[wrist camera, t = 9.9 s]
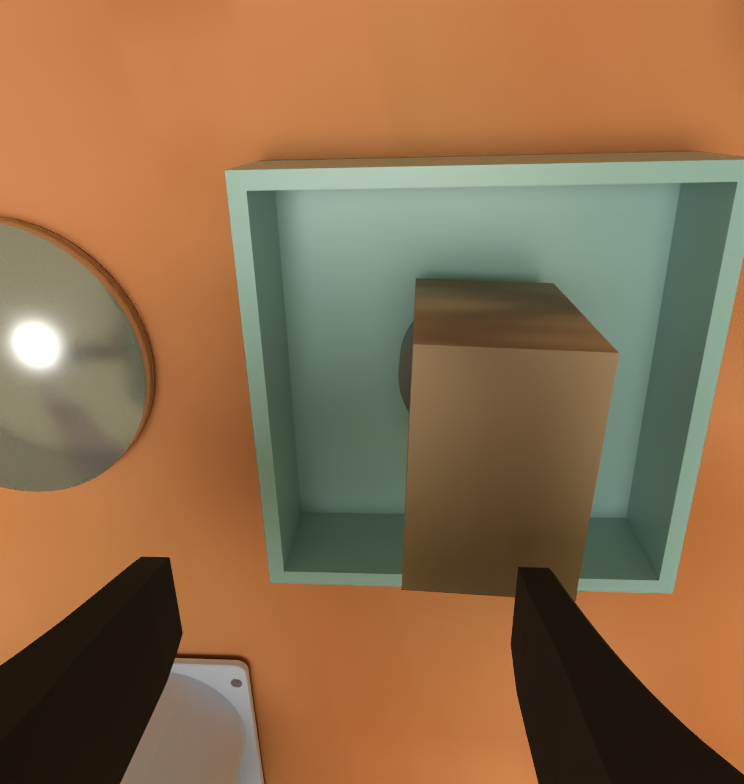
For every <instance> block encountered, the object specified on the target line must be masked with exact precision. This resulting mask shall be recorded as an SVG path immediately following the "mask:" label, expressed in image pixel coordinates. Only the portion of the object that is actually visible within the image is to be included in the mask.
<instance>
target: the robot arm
mask: <svg viewBox="0 0 744 784" xmlns="http://www.w3.org/2000/svg"><path fill="white" fill-rule="evenodd" d="M182 634H183V632H182V626H181V621H180V615H179V609H178V604H177V598H176V592H175V586H174V581H173V575H172V569H171V563H170V558H169V557H140V558H139V559H138V560H136V561H135V562H134V563H132V564H131V565H130V566H129V567H127V568H126V569H125V570H124V571H122V572H121V573H120V574H119V575H118V576H116V577H115V578H114V579H113V580H112V581H110V582H109V583H108V584H107V585H105V586H104V587H103V588H102V589H101V590H99V591H98V592H97V593H96V594H95V595H93V596H92V597H91V598H90V599H88V600H87V601H86V602H85V603H83V604H82V605H81V606H80V607H78V608H77V609H76V610H75V611H73V612H72V613H71V614H70V615H68V616H67V617H66V618H65V619H63V620H62V621H61V622H60V623H58V624H57V625H56V626H54V627H53V628H52V629H50V630H49V631H48V632H46V633H45V634H43V635H42V636H41V637H39V638H38V639H37V640H35V641H34V642H33V643H31V644H30V645H29V646H27V647H26V648H25V649H23V650H22V651H21V652H19V653H18V654H16V655H15V656H14V657H12V658H11V659H9V660H8V661H6V662H5V663H4V664H2V665H1V666H0V784H264V779H263V771H262V764H261V757H260V749H259V742H258V735H257V727H256V720H255V713H254V706H253V698H252V691H251V684H250V676H249V669H248V666H247V665H246V664H245V663H244V662H242V661H239V660H222V659H193V658H175V657H176V654H177V650H178V647H179V644H180V640H181V637H182ZM511 650H512V658H513V667H514V675H515V682H516V690H517V696H518V700H519V704H520V709H521V713H522V717H523V721H524V725H525V730H526V734H527V738H528V742H529V746H530V750H531V754H532V759H533V763H534V767H535V771H536V775H537V779H538V783H539V784H744V775H743V774H742V773H741V772H740V771H738V770H737V769H736V768H735V767H733V766H732V765H731V764H730V763H729V762H727V761H726V760H725V759H724V758H722V757H721V756H720V755H719V754H718V753H716V752H715V751H714V750H713V749H711V748H710V747H709V746H708V745H707V744H705V743H704V742H703V741H702V740H701V739H700V738H698V737H697V736H696V735H695V734H694V733H693V732H692V731H690V730H689V729H688V728H687V727H686V726H685V725H684V724H683V723H682V722H681V721H680V720H679V719H677V718H676V717H675V716H674V715H673V714H672V713H671V712H670V711H669V710H668V709H667V708H666V707H665V706H664V705H663V704H662V703H661V702H660V701H659V700H658V699H657V698H656V697H655V696H654V695H653V694H652V693H651V692H650V691H649V690H648V689H647V688H646V687H645V686H644V685H643V684H642V682H641V681H640V680H639V679H638V678H637V677H636V676H635V675H634V674H633V673H632V672H631V670H630V669H629V668H628V667H627V666H626V665H625V664H624V663H623V662H622V660H621V659H620V658H619V657H618V656H617V655H616V654H615V652H614V651H613V650H612V649H611V648H610V646H609V645H608V644H607V643H606V641H605V640H604V639H603V638H602V637H601V635H600V634H599V633H598V632H597V631H596V629H595V628H594V627H593V626H592V624H591V623H590V622H589V621H588V619H587V618H586V617H585V615H584V614H583V613H582V611H581V610H580V609H579V607H578V606H577V605H576V603H575V602H574V601H573V599H572V598H571V597H570V595H569V594H568V592H567V591H566V590H565V588H564V587H563V585H562V584H561V583H560V581H559V580H558V578H557V577H556V575H555V574H554V573H553V572H552V571H551V569H550V568H540V567H518V573H517V584H516V595H515V605H514V616H513V627H512V638H511ZM236 679H239V680H236Z"/></svg>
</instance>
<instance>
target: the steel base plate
mask: <svg viewBox="0 0 744 784" xmlns="http://www.w3.org/2000/svg"><path fill="white" fill-rule="evenodd" d="M154 388H155V371H154V361H153V355H152V351H151V347H150V343H149V339H148V337H147V334H146V331H145V329H144V326H143V323H142V321H141V319H140V318H139V316H138V314H137V312H136V310H135V308H134V306H133V304H132V303H131V301H130V300H129V299H128V297H127V296H126V294H125V293H124V291H123V290H122V288H121V287H120V286H119V285H118V284H117V282H116V281H115V280H114V279H113V278H112V277H111V275H110V274H109V273H108V272H107V271H106V270H105V269H104V268H103V267H102V266H101V265H99V264H98V263H97V262H96V261H95V260H94V259H93V258H92V257H90V256H89V255H88V254H87V253H85V252H84V251H83V250H81V249H80V248H79V247H77V246H76V245H74V244H73V243H71V242H69V241H67V240H66V239H64V238H62V237H61V236H59V235H57V234H55V233H53V232H51V231H48V230H46V229H44V228H42V227H40V226H37V225H34V224H30V223H27V222H24V221H21V220H17V219H12V218H6V217H1V216H0V487H3V488H9V489H14V490H21V491H35V492H37V491H54V490H60V489H66V488H70V487H73V486H76V485H80V484H83V483H85V482H87V481H89V480H91V479H93V478H95V477H97V476H98V475H100V474H101V473H103V472H104V471H106V470H107V469H109V468H110V467H111V466H112V465H113V464H114V463H115V462H116V461H117V460H118V459H119V458H120V457H121V456H122V455H123V454H124V453H125V452H126V450H127V449H128V448H129V447H130V446H131V445H132V443H133V442H134V441H135V439H136V438H137V437H138V435H139V434H140V432H141V430H142V429H143V427H144V425H145V423H146V421H147V418H148V416H149V413H150V410H151V407H152V402H153V396H154Z"/></svg>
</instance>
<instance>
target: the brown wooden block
mask: <svg viewBox="0 0 744 784" xmlns="http://www.w3.org/2000/svg"><path fill="white" fill-rule="evenodd" d="M618 356H619V352H618V351H617V350H616V349H615V348H614V347H613V346H612V345H611V344H610V343H609V342H608V341H607V340H606V339H605V337H604V336H603V335H602V334H601V333H600V332H599V331H598V330H597V329H596V328H595V327H594V326H593V325H592V324H591V323H590V321H589V320H588V319H587V318H586V317H585V316H584V315H583V314H582V313H581V312H580V311H579V310H578V309H577V308H576V307H575V305H574V304H573V303H572V302H571V301H570V300H569V299H568V298H567V297H566V296H565V295H564V294H563V293H562V292H561V291H560V290H559V288H558V287H557V286H556V285H555V284H554V283H534V282H506V281H478V280H451V279H423V278H416V282H415V303H414V320H413V322H412V323H411V325H410V326H409V328H408V330H407V332H406V334H405V337H404V339H403V342H402V346H401V351H400V361H399V371H398V381H399V388H400V393H401V396H402V399H403V402H404V404H405V406H406V408H407V410H408V412H409V429H408V450H407V472H406V495H405V519H404V542H403V566H402V589H401V590H413V591H428V592H444V593H459V594H475V595H490V596H505V597H515V595H516V584H517V573H518V567H540V568H550V569H551V571H552V572H553V573H554V574H555V575H556V577H557V578H558V580H559V581H560V583H561V584H562V585H563V587H564V588H565V590H566V591H567V592H568V594H569V595H570V597H571V598H572V599H573V601H575V600H576V594H577V589H578V583H579V577H580V572H581V566H582V560H583V555H584V549H585V543H586V538H587V532H588V526H589V521H590V515H591V509H592V504H593V498H594V492H595V487H596V481H597V475H598V470H599V464H600V458H601V453H602V447H603V441H604V436H605V430H606V424H607V419H608V413H609V407H610V402H611V396H612V390H613V385H614V379H615V373H616V368H617V362H618Z"/></svg>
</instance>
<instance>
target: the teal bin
mask: <svg viewBox="0 0 744 784" xmlns="http://www.w3.org/2000/svg"><path fill="white" fill-rule="evenodd" d="M225 178H226V187H227V196H228V205H229V214H230V223H231V232H232V241H233V250H234V259H235V268H236V277H237V286H238V295H239V304H240V313H241V322H242V332H243V341H244V350H245V359H246V368H247V377H248V386H249V395H250V404H251V413H252V422H253V431H254V440H255V449H256V458H257V467H258V476H259V485H260V494H261V503H262V512H263V522H264V531H265V540H266V549H267V558H268V567H269V576H270V583H281V584H320V585H359V586H399V587H402V566H403V542H404V519H405V495H406V472H407V450H408V429H409V412H408V410H407V408H406V406H405V404H404V402H403V399H402V396H401V393H400V388H399V381H398V371H399V361H400V351H401V346H402V342H403V339H404V337H405V334H406V332H407V330H408V328H409V326H410V325H411V323H412V322H413V320H414V303H415V282H416V278H423V279H451V280H478V281H506V282H534V283H554V284H555V285H556V286H557V287H558V288H559V290H560V291H561V292H562V293H563V294H564V295H565V296H566V297H567V298H568V299H569V300H570V301H571V302H572V303H573V304H574V305H575V307H576V308H577V309H578V310H579V311H580V312H581V313H582V314H583V315H584V316H585V317H586V318H587V319H588V320H589V321H590V323H591V324H592V325H593V326H594V327H595V328H596V329H597V330H598V331H599V332H600V333H601V334H602V335H603V336H604V337H605V339H606V340H607V341H608V342H609V343H610V344H611V345H612V346H613V347H614V348H615V349H616V350H617V351H618V352H619V356H618V362H617V368H616V373H615V379H614V385H613V390H612V396H611V402H610V407H609V413H608V419H607V424H606V430H605V436H604V441H603V447H602V453H601V458H600V464H599V470H598V475H597V481H596V487H595V492H594V498H593V504H592V509H591V515H590V521H589V526H588V532H587V538H586V543H585V549H584V555H583V560H582V566H581V572H580V577H579V583H578V589H577V591H596V592H635V593H673V590H674V585H675V580H676V576H677V571H678V566H679V561H680V557H681V552H682V547H683V542H684V538H685V533H686V528H687V523H688V519H689V514H690V509H691V504H692V500H693V495H694V490H695V485H696V481H697V476H698V471H699V466H700V462H701V457H702V452H703V447H704V442H705V438H706V433H707V428H708V423H709V419H710V414H711V409H712V404H713V400H714V395H715V390H716V385H717V381H718V376H719V371H720V366H721V362H722V357H723V352H724V347H725V343H726V338H727V333H728V328H729V324H730V319H731V314H732V309H733V305H734V300H735V295H736V290H737V286H738V281H739V276H740V271H741V267H742V262H743V257H744V157H741V156H733V155H724V154H716V153H707V152H698V151H679V152H633V153H587V154H541V155H495V156H449V157H403V158H357V159H311V160H265V161H257V162H254V163H250V164H246V165H243V166H239V167H235V168H232V169H228V170H225Z"/></svg>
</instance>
